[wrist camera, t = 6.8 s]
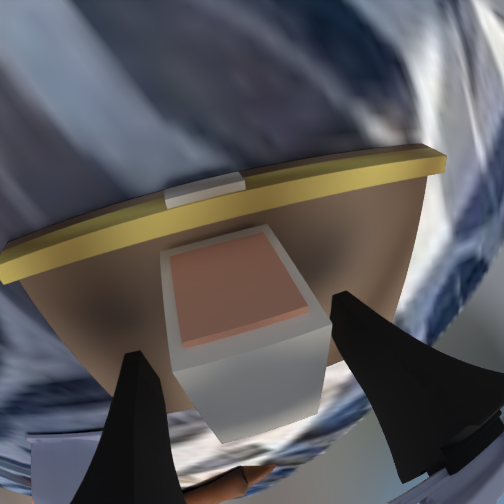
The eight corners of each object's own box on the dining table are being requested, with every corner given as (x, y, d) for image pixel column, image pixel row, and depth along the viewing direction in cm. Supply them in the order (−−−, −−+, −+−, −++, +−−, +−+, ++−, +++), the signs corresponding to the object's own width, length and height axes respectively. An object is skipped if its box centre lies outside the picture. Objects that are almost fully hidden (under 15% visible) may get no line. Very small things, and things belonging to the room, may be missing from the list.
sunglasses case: (210, 494, 40) (202, 522, 34) (177, 477, 40) (166, 505, 33) (281, 462, 35) (278, 498, 29) (243, 442, 35) (236, 480, 28)
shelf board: (135, 411, 17) (137, 432, 16) (3, 236, 9) (-12, 260, 7) (380, 336, 20) (391, 351, 19) (422, 137, 11) (447, 149, 10)
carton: (198, 350, 14) (222, 443, 10) (157, 246, 10) (169, 366, 6) (277, 327, 15) (317, 413, 11) (266, 217, 11) (333, 317, 7)
